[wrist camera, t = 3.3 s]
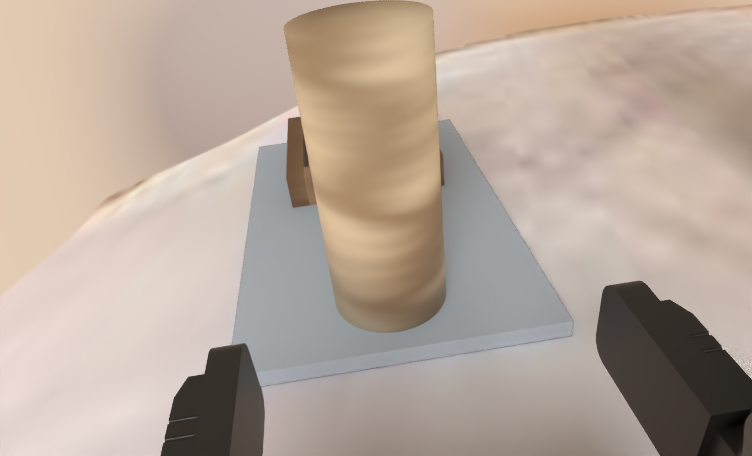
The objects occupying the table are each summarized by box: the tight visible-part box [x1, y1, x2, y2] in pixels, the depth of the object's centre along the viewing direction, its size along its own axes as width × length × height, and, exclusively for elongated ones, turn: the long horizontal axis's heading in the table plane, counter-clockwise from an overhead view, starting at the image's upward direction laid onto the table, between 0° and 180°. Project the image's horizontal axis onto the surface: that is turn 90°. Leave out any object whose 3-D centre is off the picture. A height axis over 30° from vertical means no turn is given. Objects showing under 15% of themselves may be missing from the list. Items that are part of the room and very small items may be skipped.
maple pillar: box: [284, 0, 446, 333], centre depth 22 cm, size 5×5×12 cm
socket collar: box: [286, 117, 444, 208], centre depth 36 cm, size 9×9×2 cm
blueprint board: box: [232, 119, 573, 386], centre depth 32 cm, size 14×22×1 cm, turn 7°
